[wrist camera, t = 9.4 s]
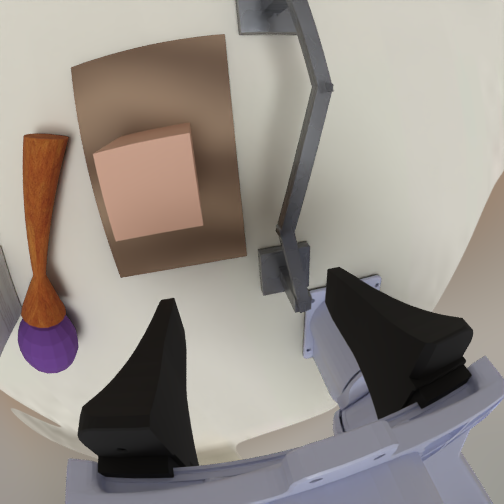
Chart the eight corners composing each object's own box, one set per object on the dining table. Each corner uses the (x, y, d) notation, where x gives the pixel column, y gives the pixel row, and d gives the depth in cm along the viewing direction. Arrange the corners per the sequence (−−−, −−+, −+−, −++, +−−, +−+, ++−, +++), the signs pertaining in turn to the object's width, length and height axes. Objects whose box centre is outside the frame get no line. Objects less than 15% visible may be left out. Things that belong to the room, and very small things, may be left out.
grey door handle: (305, 281, 26) (329, 321, 21) (261, 289, 25) (277, 334, 21) (292, -13, 13) (325, -40, 9) (234, -15, 13) (250, -48, 8)
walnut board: (245, 252, 23) (246, 255, 23) (122, 273, 22) (120, 277, 21) (223, 36, 15) (224, 34, 14) (74, 68, 14) (70, 67, 13)
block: (199, 188, 19) (203, 225, 14) (134, 200, 19) (115, 241, 14) (189, 122, 17) (189, 133, 12) (121, 136, 16) (92, 154, 11)
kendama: (79, 145, 13) (80, 388, 20) (92, 136, 18) (81, 343, 25) (-8, 139, 10) (21, 382, 18) (23, 130, 15) (29, 338, 22)
